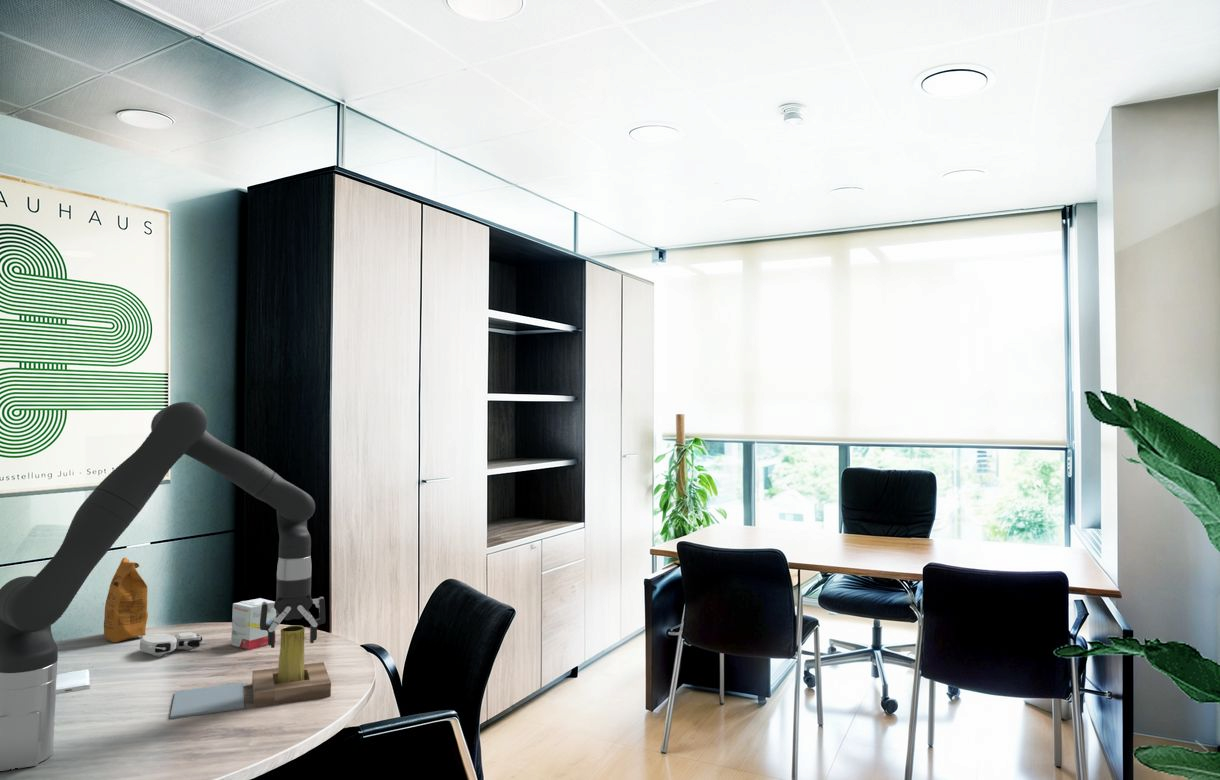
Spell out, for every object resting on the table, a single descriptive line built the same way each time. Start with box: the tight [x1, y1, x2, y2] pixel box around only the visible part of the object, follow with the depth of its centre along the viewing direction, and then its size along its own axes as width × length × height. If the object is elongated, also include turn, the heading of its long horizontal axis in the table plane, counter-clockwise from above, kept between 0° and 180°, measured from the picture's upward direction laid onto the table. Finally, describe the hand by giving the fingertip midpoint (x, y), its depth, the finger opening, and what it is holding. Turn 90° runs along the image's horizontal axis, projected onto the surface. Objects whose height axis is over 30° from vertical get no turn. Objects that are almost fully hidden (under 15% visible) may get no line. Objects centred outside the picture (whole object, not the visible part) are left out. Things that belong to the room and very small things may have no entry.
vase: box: [277, 625, 306, 684], centre depth 175 cm, size 6×6×14 cm
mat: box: [169, 682, 245, 720], centre depth 167 cm, size 16×14×1 cm
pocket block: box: [251, 661, 332, 708], centre depth 175 cm, size 16×16×3 cm
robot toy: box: [137, 631, 207, 657], centre depth 202 cm, size 12×4×15 cm
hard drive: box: [56, 669, 91, 695], centre depth 176 cm, size 2×8×12 cm
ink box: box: [230, 597, 277, 651], centre depth 210 cm, size 9×9×12 cm
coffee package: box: [103, 557, 149, 643], centre depth 214 cm, size 10×12×22 cm
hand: (292, 644), depth 176 cm, fingers open, 8 cm apart
